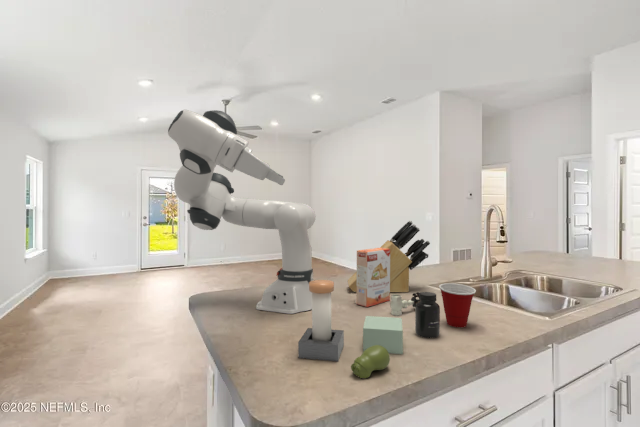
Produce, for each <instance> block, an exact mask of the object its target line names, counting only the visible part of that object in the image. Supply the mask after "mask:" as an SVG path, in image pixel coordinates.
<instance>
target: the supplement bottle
mask: <svg viewBox="0 0 640 427" xmlns="http://www.w3.org/2000/svg"><path fill="white" fill-rule="evenodd" d="M418 299H419V300H420V301H419V302H417V303H416V306H415V307H414V308H415V310H414V312H415V316H414V318H415V319H414V320H415V321H414V322H415V325H414V328H415V329H414V330H415V331H414V332H415V334H416V335H417V336H419V337H422V338H426V339H436V338H438V337H439V336H440V334H441V333H440V331H441V330H440V329H441V328H440V326H441V325H440V322H441V321H440V320H441V310H440V309H441V308H440V305H439V304H438V302H437V293H436V292H435V293H434V292H431V291H420V292H419V298H418Z"/></svg>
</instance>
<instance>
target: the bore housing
mask: <svg viewBox="0 0 640 427" xmlns="http://www.w3.org/2000/svg"><path fill="white" fill-rule="evenodd" d="M344 332H345V330H344V329H343V330H342V329H332V341H318V340H312V327H308V328H307V329H306V330H305V331H304V333H303V335H302V336H301V338H300V339H299V341H298V343H297V344H298V345H297V347H298V350H297V351H298V354H297V356H298V359H304V358H306V359H305V360H316V359H318V360H317V361H327V360H328V362H330V361H331V362H339V360H340V357H341V355H340V354H342V352H343V348H344V346H345V339H344V338H345V336H344V335H345V333H344Z"/></svg>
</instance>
